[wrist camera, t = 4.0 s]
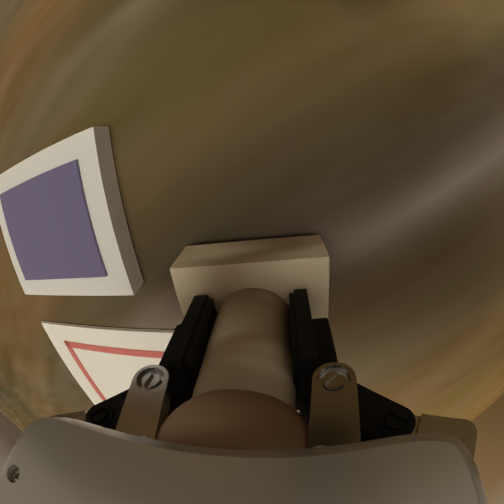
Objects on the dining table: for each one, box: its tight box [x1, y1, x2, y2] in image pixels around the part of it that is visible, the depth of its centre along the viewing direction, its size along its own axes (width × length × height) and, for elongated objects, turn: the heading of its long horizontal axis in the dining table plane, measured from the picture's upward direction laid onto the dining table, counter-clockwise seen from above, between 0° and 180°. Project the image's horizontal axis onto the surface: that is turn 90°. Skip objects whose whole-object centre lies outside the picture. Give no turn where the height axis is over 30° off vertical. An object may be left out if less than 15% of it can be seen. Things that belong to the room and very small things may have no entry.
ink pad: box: [0, 126, 144, 296], centre depth 13 cm, size 11×9×2 cm
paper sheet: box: [41, 321, 174, 405], centre depth 19 cm, size 15×14×1 cm
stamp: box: [156, 235, 329, 450], centre depth 9 cm, size 6×5×12 cm
